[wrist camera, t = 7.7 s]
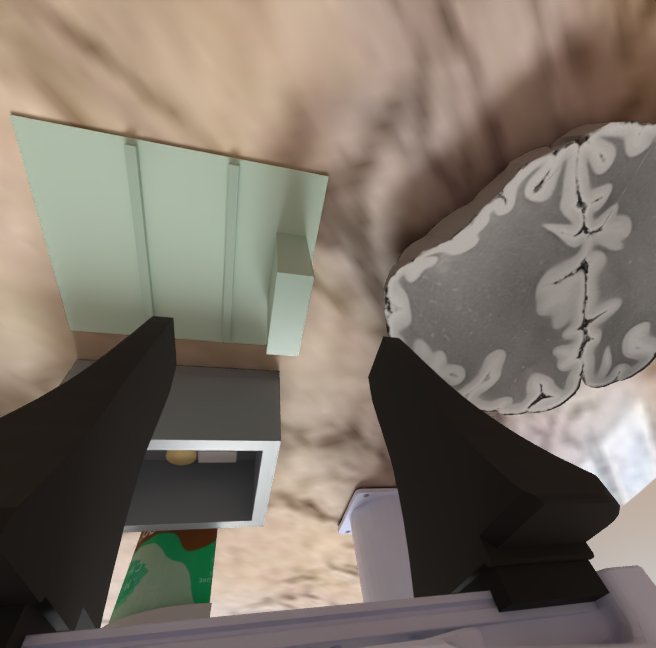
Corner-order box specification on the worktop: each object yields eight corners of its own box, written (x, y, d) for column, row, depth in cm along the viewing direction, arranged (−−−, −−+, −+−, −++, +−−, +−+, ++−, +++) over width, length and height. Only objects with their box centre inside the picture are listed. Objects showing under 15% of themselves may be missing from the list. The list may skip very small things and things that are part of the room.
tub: (279, 371, 21) (280, 441, 17) (264, 456, 26) (263, 526, 22) (77, 359, 18) (23, 437, 14) (104, 456, 23) (69, 534, 19)
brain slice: (426, 417, 26) (441, 451, 24) (334, 229, 16) (345, 255, 14) (697, 309, 23) (746, 336, 21) (784, -4, 13) (897, -22, 11)
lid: (326, 173, 15) (344, 204, 11) (294, 341, 20) (299, 399, 17) (20, 113, 12) (-87, 129, 9) (75, 323, 18) (24, 388, 14)
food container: (142, 470, 25) (80, 655, 17) (226, 478, 27) (206, 647, 19) (125, 544, 31) (74, 706, 23) (195, 546, 33) (170, 696, 25)
